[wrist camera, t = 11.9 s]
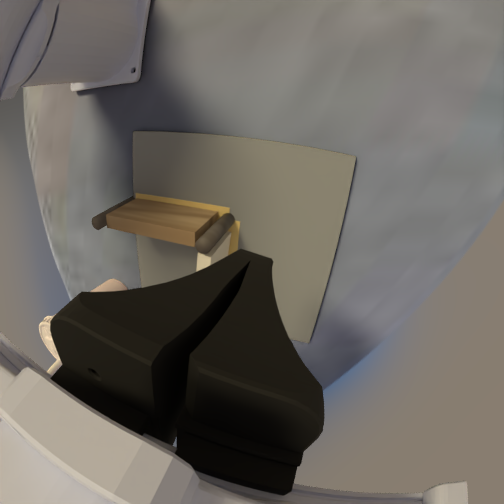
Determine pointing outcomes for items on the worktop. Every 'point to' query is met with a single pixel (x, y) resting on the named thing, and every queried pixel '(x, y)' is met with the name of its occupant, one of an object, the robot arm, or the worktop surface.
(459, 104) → the worktop surface
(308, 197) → the mat
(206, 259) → the fence panel
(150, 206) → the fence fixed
